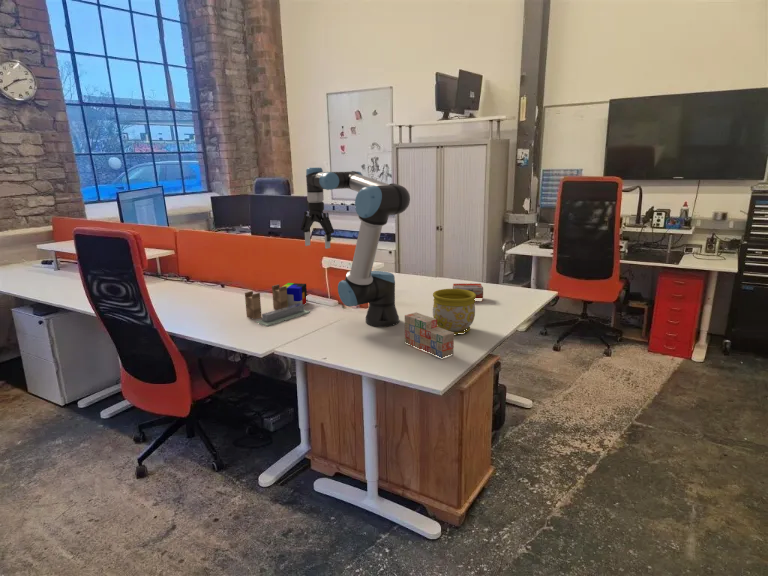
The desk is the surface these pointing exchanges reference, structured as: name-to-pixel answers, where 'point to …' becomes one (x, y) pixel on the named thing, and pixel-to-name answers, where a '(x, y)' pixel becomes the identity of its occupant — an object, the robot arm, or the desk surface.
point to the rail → (282, 313)
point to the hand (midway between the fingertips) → (317, 246)
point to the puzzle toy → (296, 293)
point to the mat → (282, 318)
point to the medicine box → (471, 288)
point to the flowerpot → (454, 309)
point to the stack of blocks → (428, 335)
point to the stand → (255, 306)
